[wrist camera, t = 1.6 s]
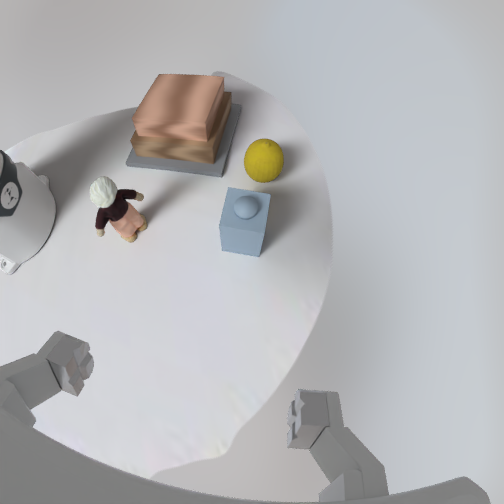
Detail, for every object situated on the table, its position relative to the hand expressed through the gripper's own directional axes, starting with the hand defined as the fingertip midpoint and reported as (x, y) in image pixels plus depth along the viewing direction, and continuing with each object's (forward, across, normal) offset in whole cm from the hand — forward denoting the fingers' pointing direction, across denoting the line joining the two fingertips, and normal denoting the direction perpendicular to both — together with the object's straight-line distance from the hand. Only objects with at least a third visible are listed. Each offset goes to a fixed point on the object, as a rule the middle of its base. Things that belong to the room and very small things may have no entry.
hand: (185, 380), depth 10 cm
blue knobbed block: (+30, 0, +6) cm, 31 cm away
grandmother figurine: (+29, +16, +8) cm, 34 cm away
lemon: (+38, -1, -1) cm, 38 cm away
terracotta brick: (+42, +13, -6) cm, 45 cm away
